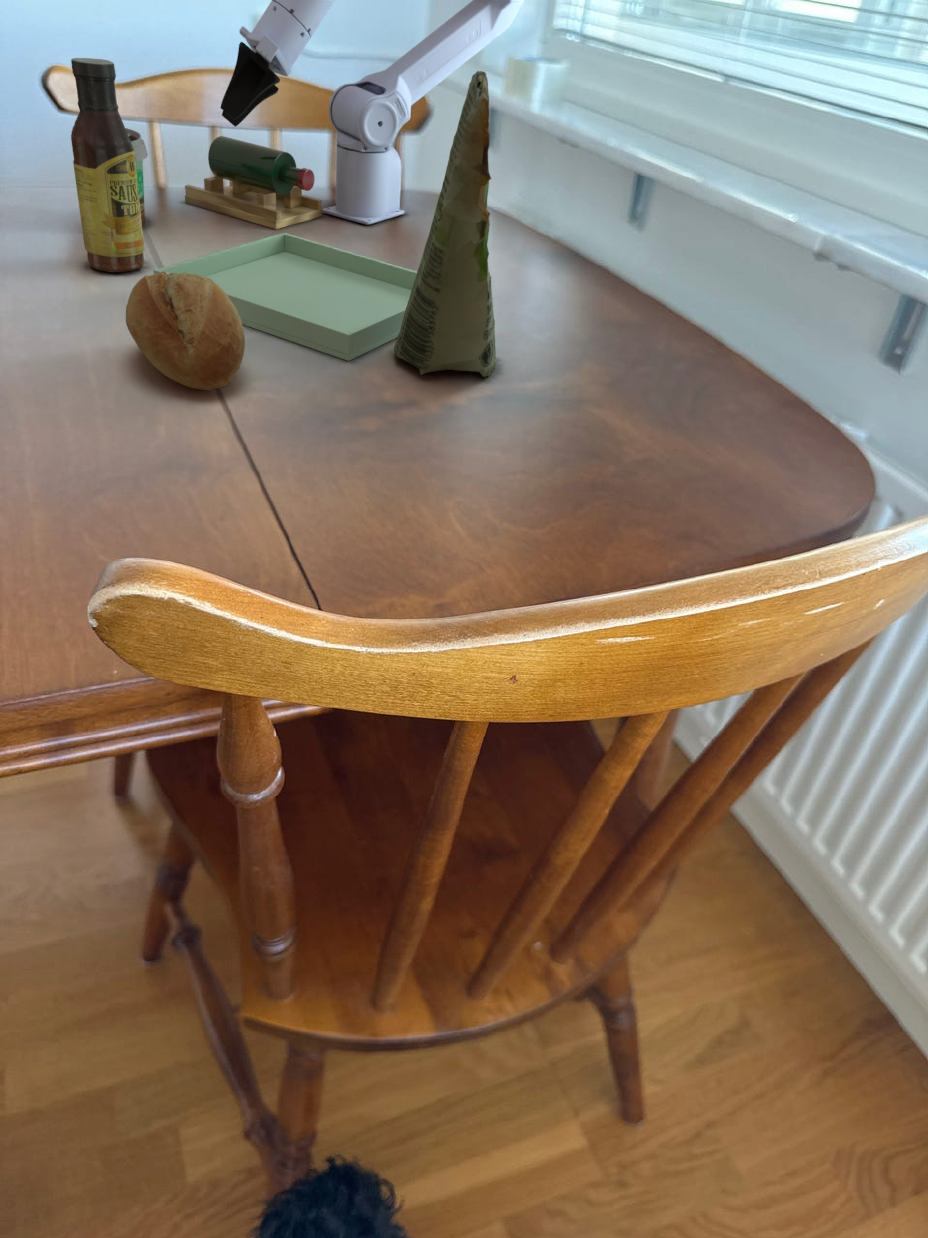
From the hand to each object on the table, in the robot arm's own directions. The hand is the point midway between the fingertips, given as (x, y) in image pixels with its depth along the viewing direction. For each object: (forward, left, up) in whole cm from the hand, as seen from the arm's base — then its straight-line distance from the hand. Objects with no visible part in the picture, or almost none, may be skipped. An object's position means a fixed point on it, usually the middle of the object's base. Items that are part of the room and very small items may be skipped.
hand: (228, 117), depth 111 cm
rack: (-7, -2, -12) cm, 14 cm away
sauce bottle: (+23, +4, -12) cm, 27 cm away
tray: (+16, +26, -12) cm, 33 cm away
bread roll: (+38, +29, -12) cm, 50 cm away
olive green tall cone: (+20, +46, -12) cm, 52 cm away
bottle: (-7, 0, -9) cm, 11 cm away
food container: (+11, -7, -12) cm, 18 cm away
